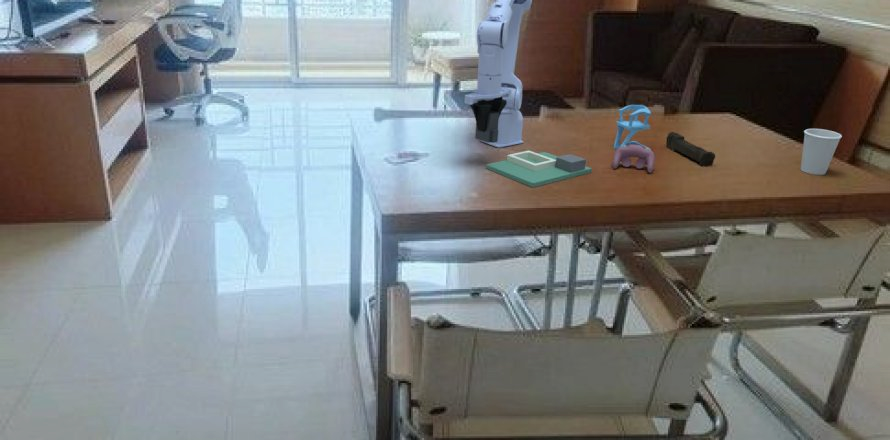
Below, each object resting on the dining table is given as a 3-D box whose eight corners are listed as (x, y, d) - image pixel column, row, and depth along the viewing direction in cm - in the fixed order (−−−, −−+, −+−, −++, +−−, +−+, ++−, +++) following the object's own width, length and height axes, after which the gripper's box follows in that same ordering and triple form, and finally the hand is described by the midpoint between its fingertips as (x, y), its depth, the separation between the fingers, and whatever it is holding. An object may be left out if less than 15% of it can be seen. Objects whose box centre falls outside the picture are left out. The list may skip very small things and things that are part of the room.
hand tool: (714, 167, 170) (717, 149, 168) (700, 167, 169) (703, 149, 167) (674, 146, 187) (677, 130, 185) (662, 146, 186) (664, 130, 184)
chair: (608, 146, 184) (613, 103, 179) (634, 144, 187) (640, 101, 182) (623, 154, 177) (629, 109, 173) (650, 152, 180) (657, 108, 175)
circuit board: (543, 155, 173) (545, 142, 172) (591, 172, 162) (593, 158, 160) (486, 168, 162) (486, 154, 160) (532, 187, 150) (534, 172, 149)
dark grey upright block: (481, 135, 167) (482, 108, 164) (499, 141, 163) (501, 113, 160) (472, 137, 165) (474, 109, 162) (491, 143, 161) (493, 114, 158)
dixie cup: (836, 171, 169) (846, 133, 165) (825, 178, 164) (836, 139, 160) (801, 163, 174) (810, 126, 171) (790, 170, 169) (799, 132, 165)
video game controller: (652, 176, 166) (656, 148, 166) (652, 173, 161) (657, 145, 162) (611, 171, 168) (616, 144, 169) (611, 168, 164) (615, 140, 164)
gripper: (497, 68, 165) (494, 121, 170) (456, 74, 156) (454, 130, 161) (519, 72, 161) (515, 127, 166) (478, 79, 151) (475, 137, 156)
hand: (486, 129), depth 163 cm, fingers closed on dark grey upright block, 3 cm apart
